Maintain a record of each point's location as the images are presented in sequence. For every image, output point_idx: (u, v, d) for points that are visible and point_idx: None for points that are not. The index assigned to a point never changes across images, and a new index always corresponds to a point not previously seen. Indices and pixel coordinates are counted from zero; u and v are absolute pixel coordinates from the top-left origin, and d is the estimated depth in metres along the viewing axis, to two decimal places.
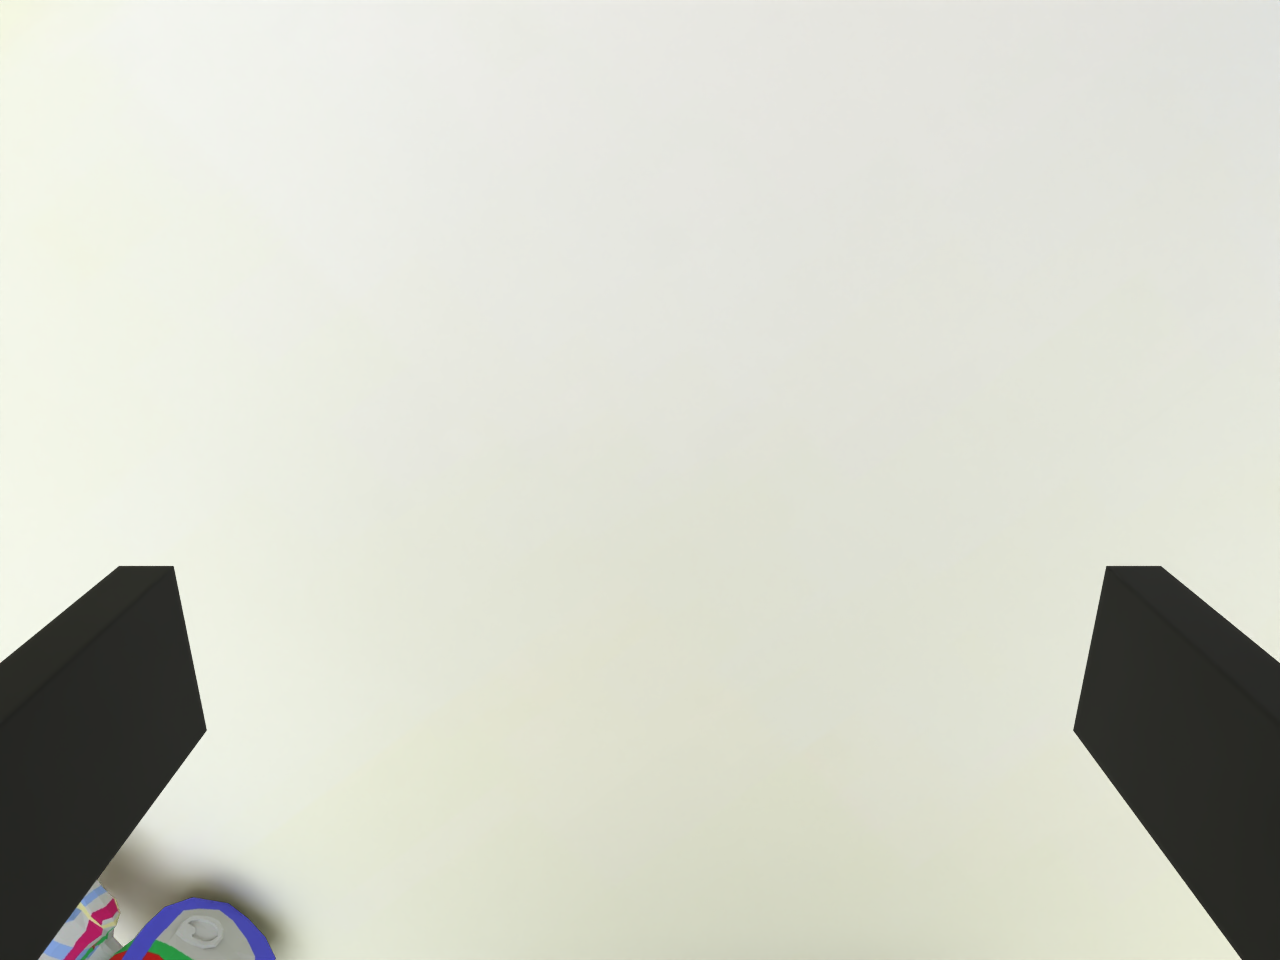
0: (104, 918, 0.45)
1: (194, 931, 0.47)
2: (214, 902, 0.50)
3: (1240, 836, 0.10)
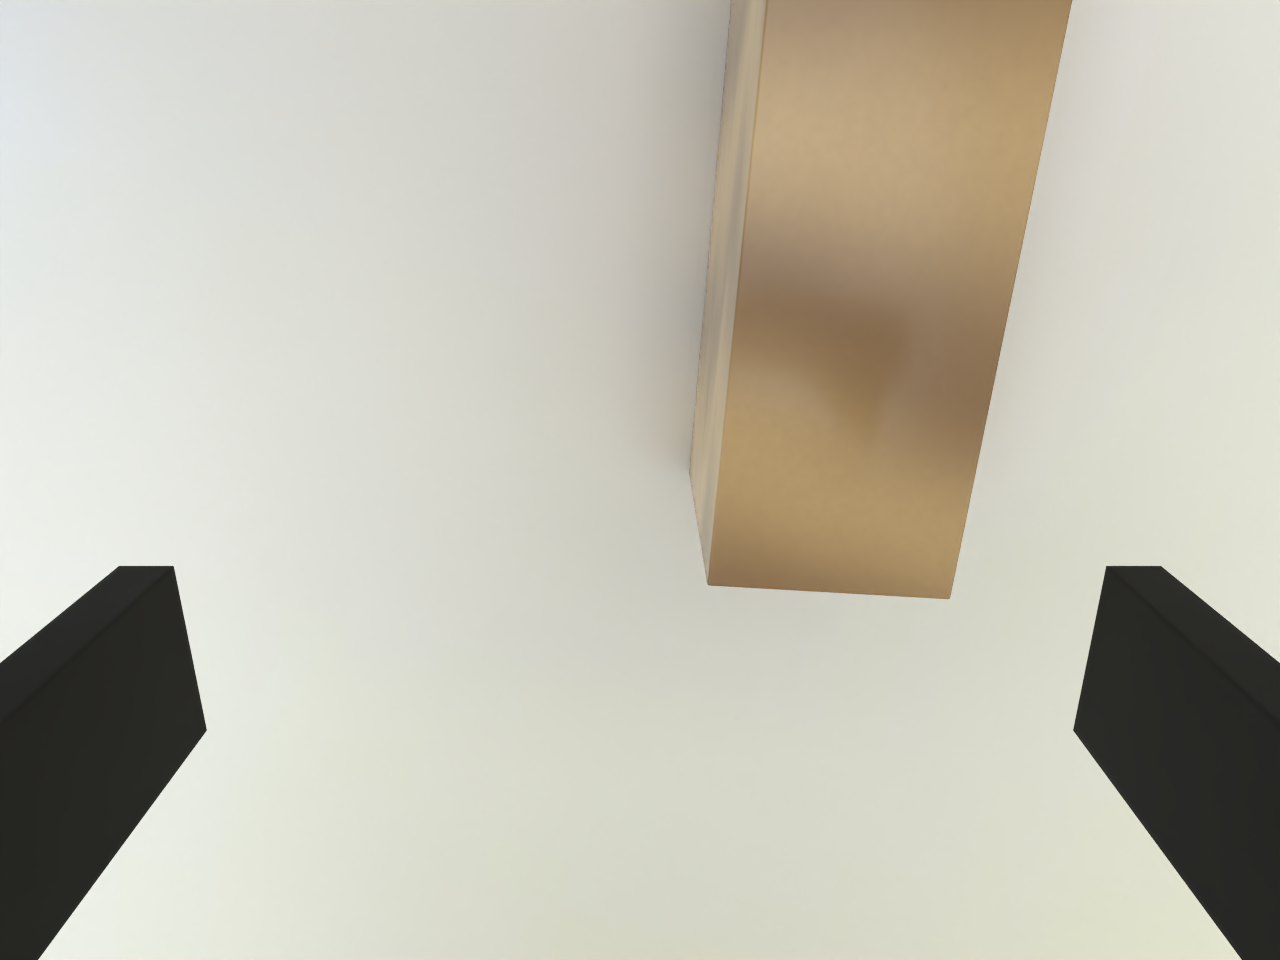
0: None
1: None
2: None
3: (1240, 836, 0.10)
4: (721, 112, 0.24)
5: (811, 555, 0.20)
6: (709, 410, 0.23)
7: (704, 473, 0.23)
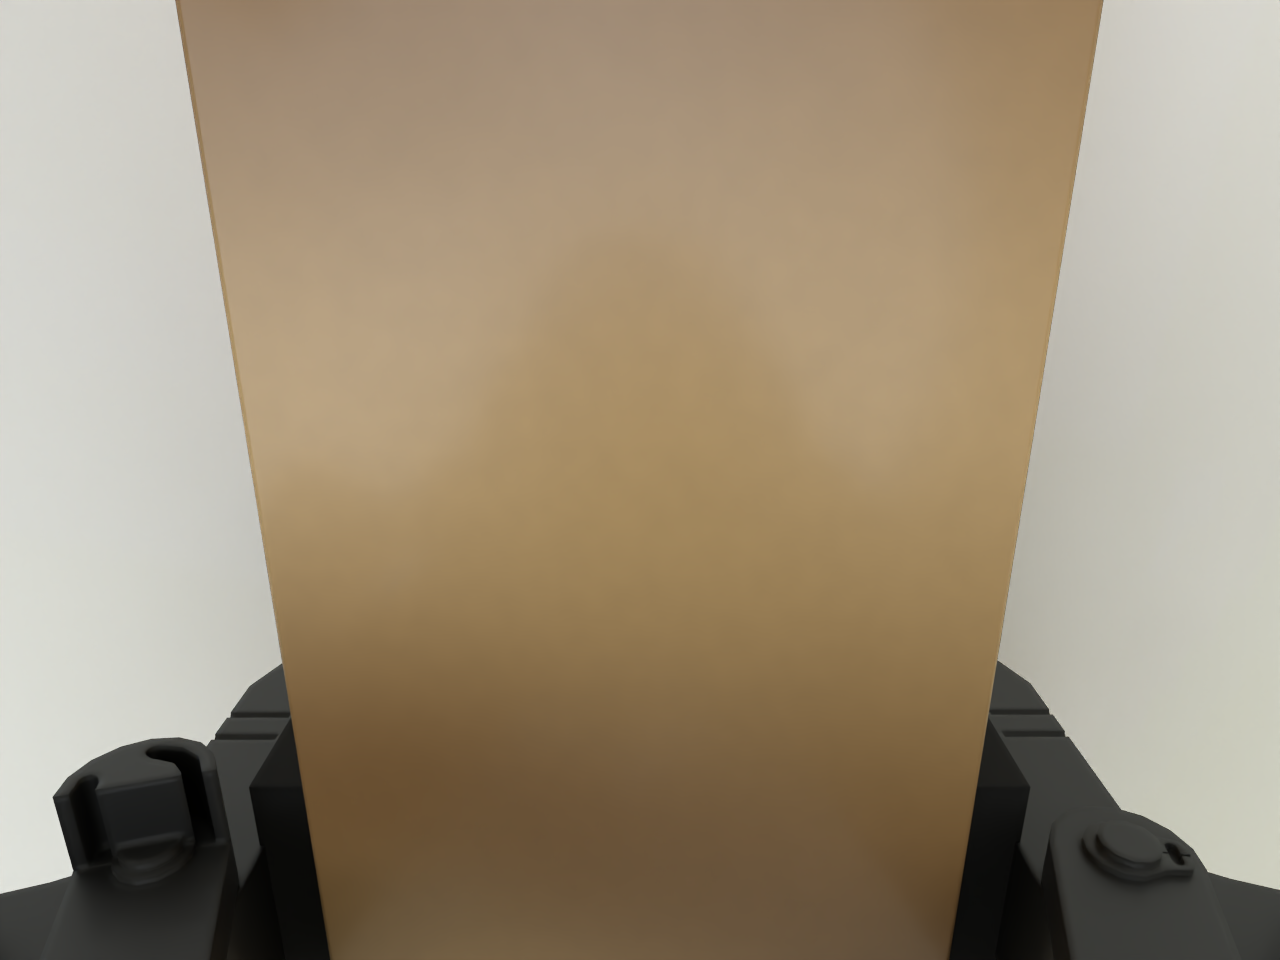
0: None
1: None
2: None
3: None
4: None
5: None
6: None
7: None
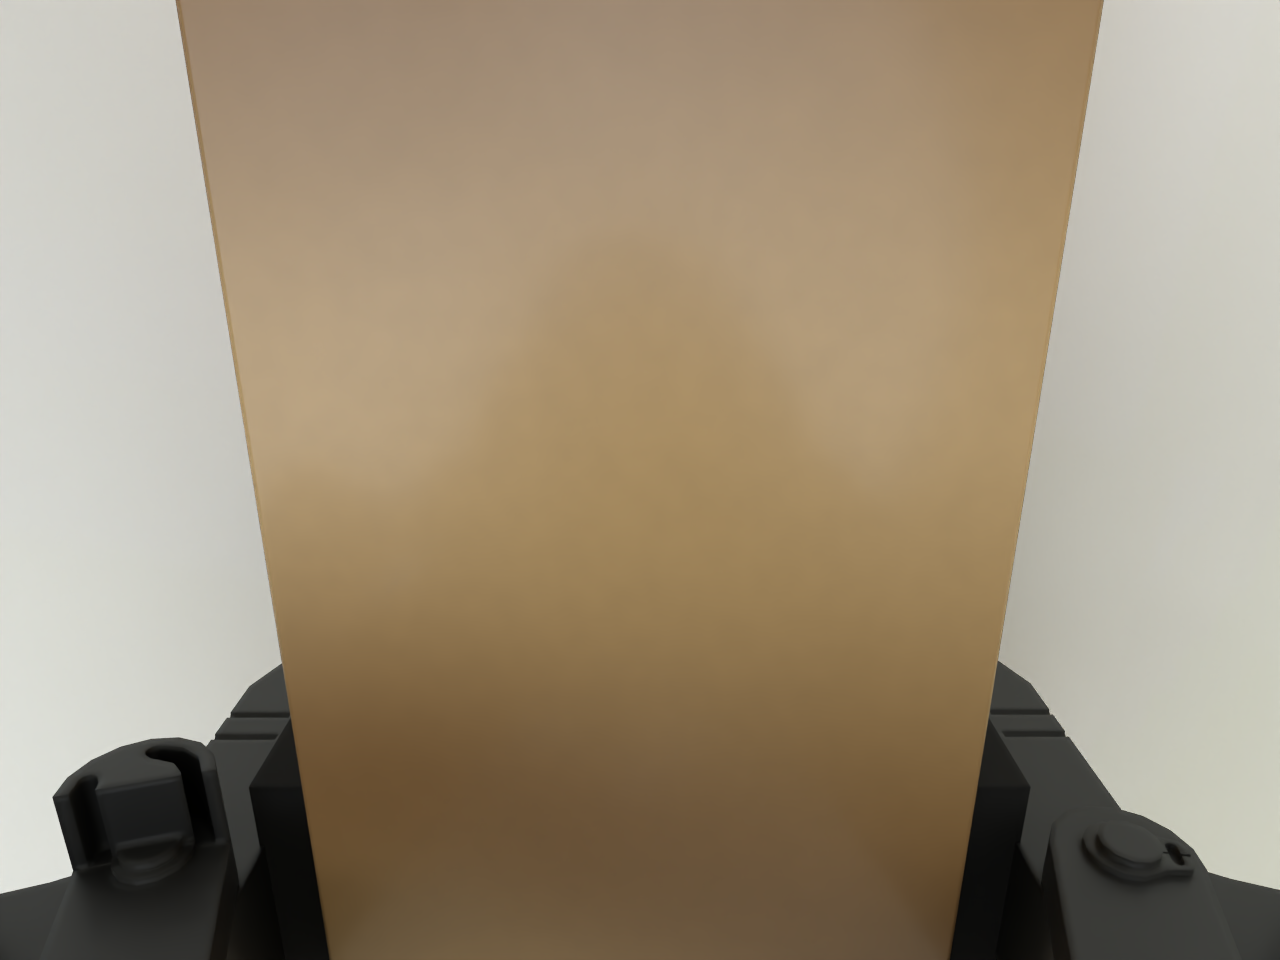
0: None
1: None
2: None
3: None
4: None
5: None
6: None
7: None
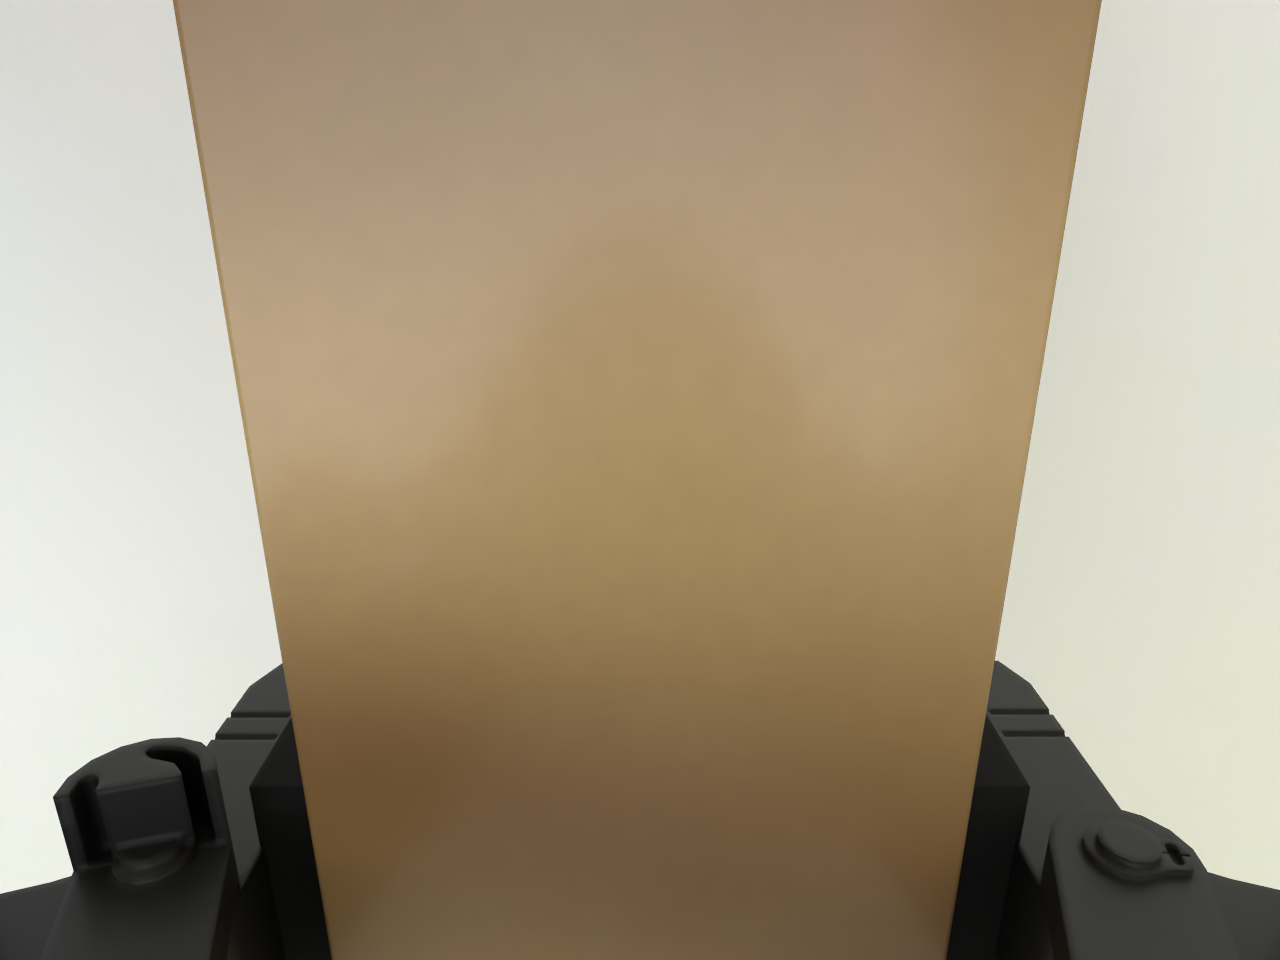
0: None
1: None
2: None
3: None
4: None
5: None
6: None
7: None
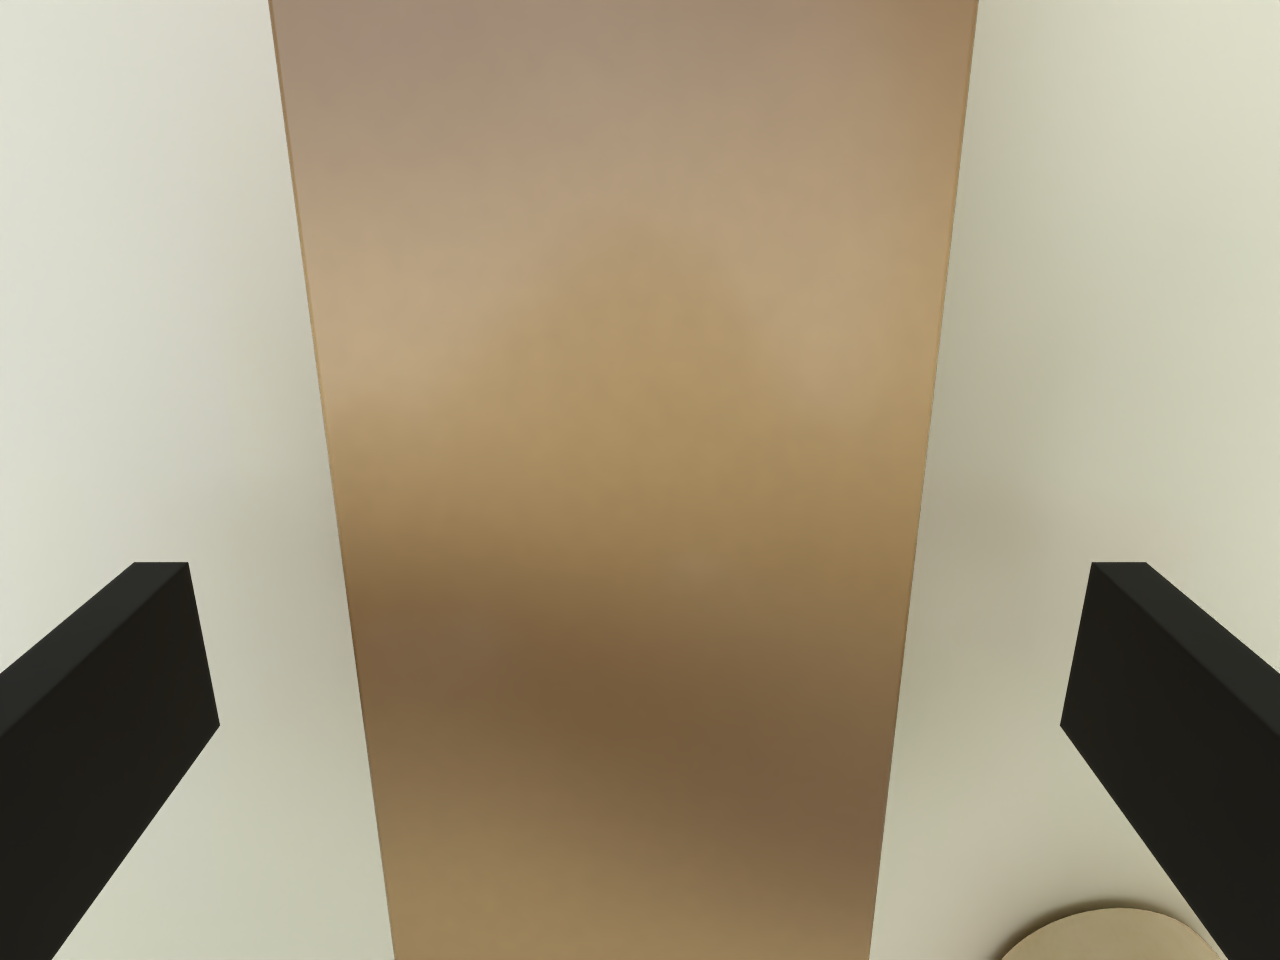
0: None
1: None
2: None
3: (1220, 828, 0.10)
4: None
5: None
6: None
7: None
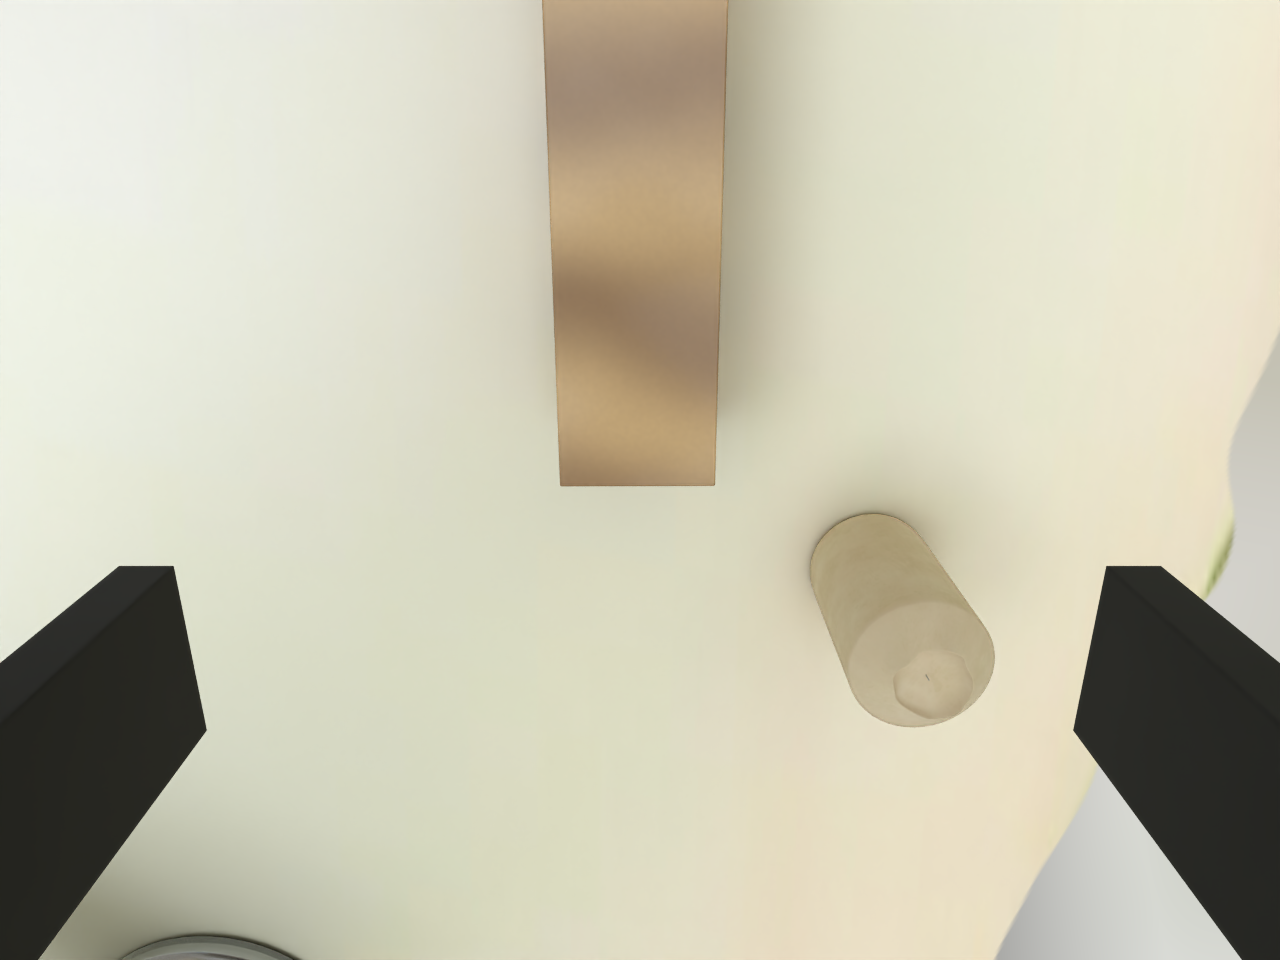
0: None
1: None
2: None
3: (1240, 836, 0.10)
4: None
5: (622, 462, 0.32)
6: None
7: None
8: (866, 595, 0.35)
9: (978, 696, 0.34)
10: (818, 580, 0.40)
